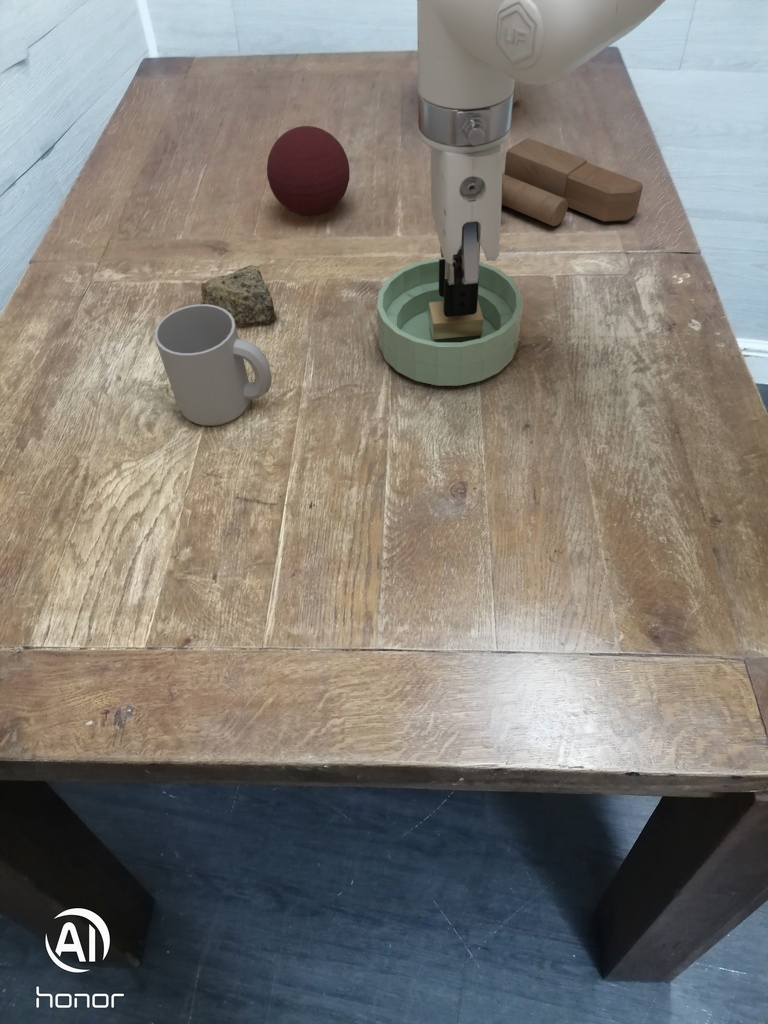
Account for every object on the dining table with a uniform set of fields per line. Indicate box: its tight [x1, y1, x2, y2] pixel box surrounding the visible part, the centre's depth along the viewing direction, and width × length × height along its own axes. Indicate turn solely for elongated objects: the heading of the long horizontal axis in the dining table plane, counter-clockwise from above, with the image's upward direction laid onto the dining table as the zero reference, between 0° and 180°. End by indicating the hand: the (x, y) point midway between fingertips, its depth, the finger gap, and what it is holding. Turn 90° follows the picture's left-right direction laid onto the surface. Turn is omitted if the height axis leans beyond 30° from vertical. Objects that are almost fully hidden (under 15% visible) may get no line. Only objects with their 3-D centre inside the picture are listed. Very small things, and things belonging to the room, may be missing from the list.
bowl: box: [376, 257, 524, 387], centre depth 78 cm, size 14×14×6 cm
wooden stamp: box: [429, 260, 484, 342], centre depth 75 cm, size 5×4×10 cm
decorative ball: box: [266, 125, 351, 217], centre depth 93 cm, size 10×10×10 cm
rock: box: [200, 264, 277, 324], centre depth 83 cm, size 7×8×4 cm
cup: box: [154, 303, 273, 427], centre depth 72 cm, size 7×10×9 cm
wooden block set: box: [501, 137, 644, 227], centre depth 91 cm, size 17×6×18 cm
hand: (457, 302), depth 76 cm, fingers closed on wooden stamp, 2 cm apart
